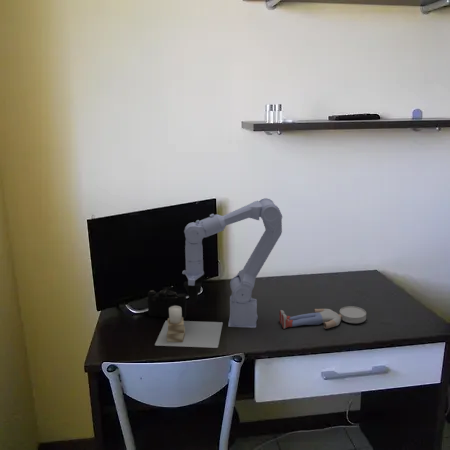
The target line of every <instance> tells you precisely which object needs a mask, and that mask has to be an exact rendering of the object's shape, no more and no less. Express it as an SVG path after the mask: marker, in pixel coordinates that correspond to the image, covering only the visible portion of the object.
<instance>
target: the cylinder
mask: <svg viewBox="0 0 450 450" xmlns="http://www.w3.org/2000/svg"><path fill="white" fill-rule="evenodd" d="M169 322H170V323H171V324H179V323H181V322H182V308H181V307H180V306H171V307H170V308H169Z"/></svg>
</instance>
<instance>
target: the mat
mask: <svg viewBox="0 0 450 450" xmlns="http://www.w3.org/2000/svg"><path fill="white" fill-rule="evenodd" d="M183 321H184V326H185V337H184V340H183V342H167V332H168V319H167V320H165V322H164V323H163V325H162V328H161V331H160V332H159V335H158V336H157V339H156V341H155V343H154V346H158V347H159V346H161V347H163V346H165V347H181V348H182V347H183V348H185V347H186V348H187V347H188V348H189V347H190V348H191V347H192V348H207V349H208V348H211V349H212V348H213V349H218V348H219V345H220V339H221V333H222V329H223V324H224V323H223V322H222V321H221V322H220V321H197V320H196V321H195V320H194V321H193V320H191V321H190V320H183Z"/></svg>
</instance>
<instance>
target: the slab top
mask: <svg viewBox="0 0 450 450" xmlns="http://www.w3.org/2000/svg"><path fill="white" fill-rule="evenodd" d="M167 320H168V334H177V333H184V321H185V320H184V319H183V317H182V322H181V323H179V324H171V323H170V322H169V318H167Z"/></svg>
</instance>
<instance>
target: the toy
mask: <svg viewBox="0 0 450 450" xmlns="http://www.w3.org/2000/svg"><path fill="white" fill-rule="evenodd" d="M366 320H367V311H366V310H365V309H364V308H361V307H359V306H356V305H355V306H353V305H352V306H351V305H350V306H349V305H348V306H344V307H343V306H342V307H341V308H340V309H339V313H338V312H336V311H333V309H330V308H314V309H313V312H310V313H303V314H298V315H293V316H290V315H287V314H286V313H285V311H284V310H282V309H280V310H279V324H280V325H282V328H283V329H284V330H285V329H287V328H292V327H299V326H314V325H315V326H316V325H317V326H318V325H321V324H323V328H324V329H330V328H334V327H337V326H339V325H340V323H341V321H343V322H345V323H349V324H361V323H364V322H366Z"/></svg>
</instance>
